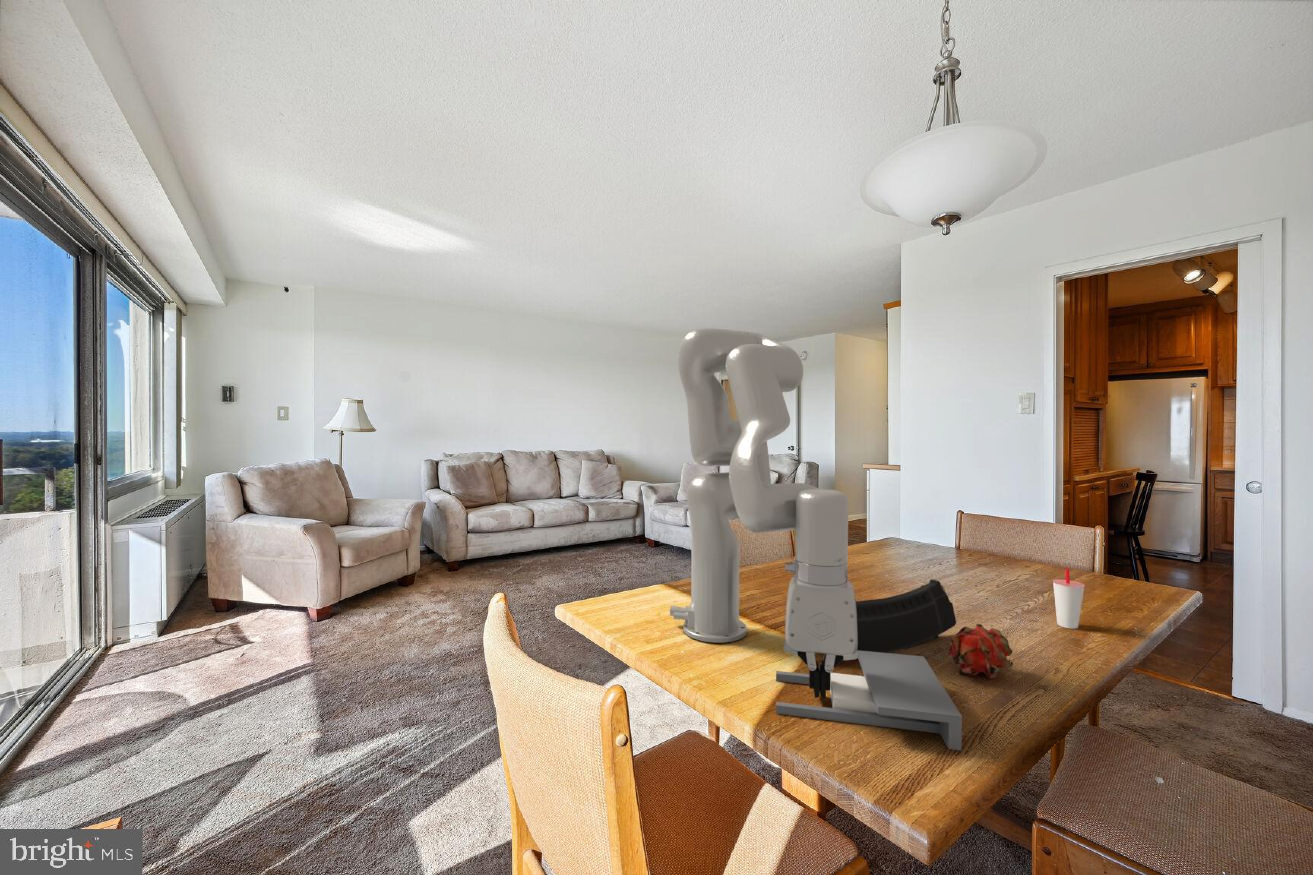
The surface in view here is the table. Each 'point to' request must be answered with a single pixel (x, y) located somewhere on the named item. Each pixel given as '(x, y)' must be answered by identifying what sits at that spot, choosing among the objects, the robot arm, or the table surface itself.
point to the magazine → (904, 619)
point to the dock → (892, 698)
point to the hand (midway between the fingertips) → (819, 693)
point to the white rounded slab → (851, 693)
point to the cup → (1068, 601)
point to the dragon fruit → (980, 651)
